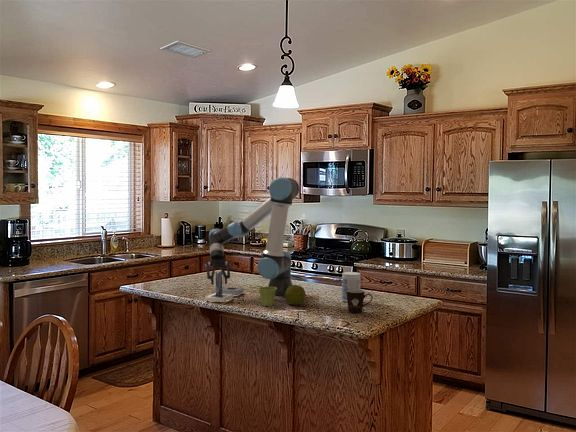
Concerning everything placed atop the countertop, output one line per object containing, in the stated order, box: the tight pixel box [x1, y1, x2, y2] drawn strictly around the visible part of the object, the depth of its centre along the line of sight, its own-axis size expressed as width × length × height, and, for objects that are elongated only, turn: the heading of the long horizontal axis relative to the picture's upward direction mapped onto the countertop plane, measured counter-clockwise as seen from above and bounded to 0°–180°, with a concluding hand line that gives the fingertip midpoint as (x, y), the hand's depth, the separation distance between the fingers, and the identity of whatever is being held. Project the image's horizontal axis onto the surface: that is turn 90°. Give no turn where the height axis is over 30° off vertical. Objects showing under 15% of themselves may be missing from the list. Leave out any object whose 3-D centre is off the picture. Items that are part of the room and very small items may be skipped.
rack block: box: [204, 292, 234, 302], centre depth 272 cm, size 11×11×2 cm
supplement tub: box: [341, 271, 362, 303], centre depth 270 cm, size 10×10×15 cm
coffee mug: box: [346, 289, 373, 315], centre depth 244 cm, size 12×9×10 cm
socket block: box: [222, 286, 245, 295], centre depth 287 cm, size 10×10×4 cm
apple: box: [284, 284, 306, 306], centre depth 261 cm, size 10×10×11 cm
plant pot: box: [257, 286, 277, 307], centre depth 261 cm, size 9×9×9 cm
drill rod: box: [215, 271, 223, 297], centre depth 272 cm, size 3×3×15 cm
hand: (219, 289), depth 268 cm, fingers open, 4 cm apart
